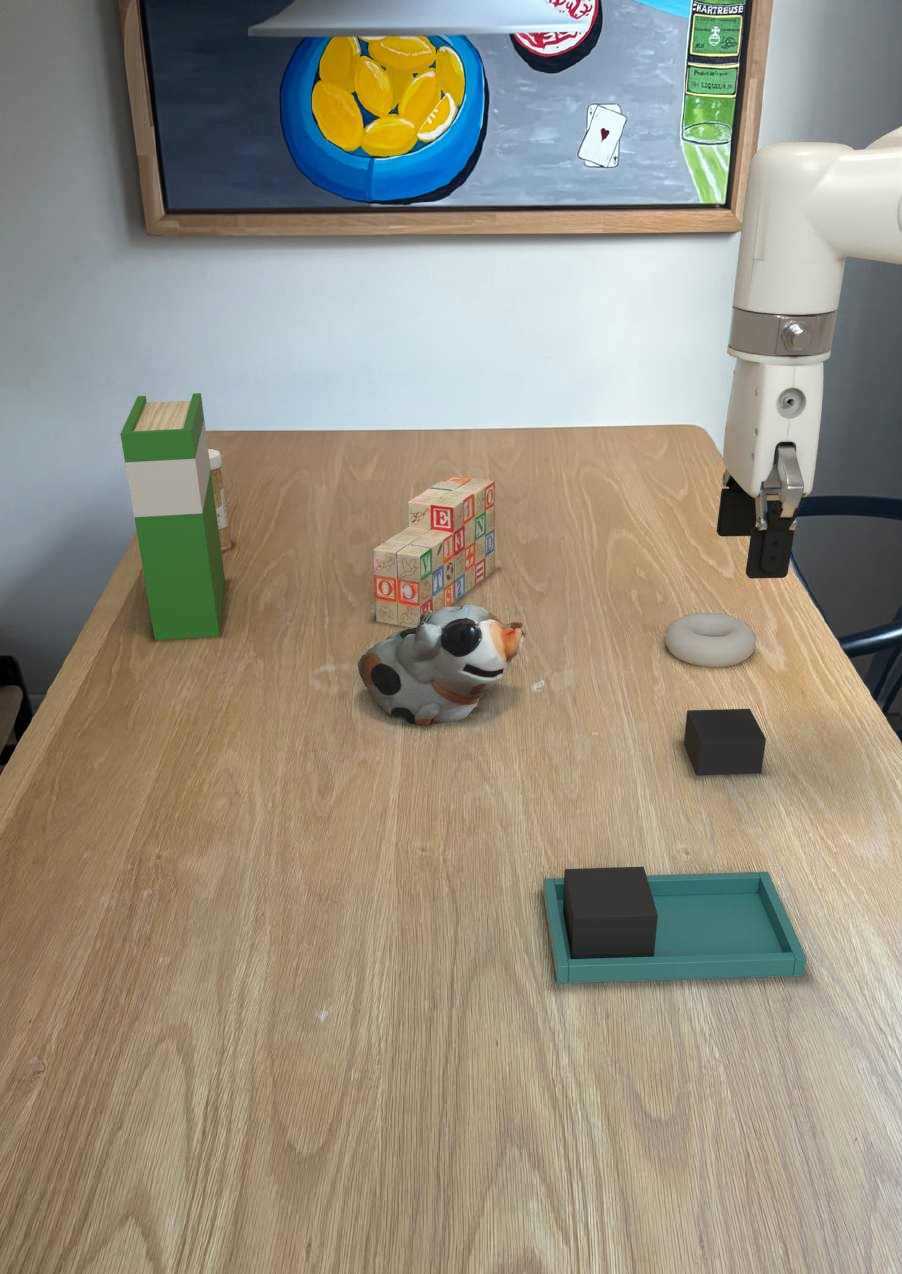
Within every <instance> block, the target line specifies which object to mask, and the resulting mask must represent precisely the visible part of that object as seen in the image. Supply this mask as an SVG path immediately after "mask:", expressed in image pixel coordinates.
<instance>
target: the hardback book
mask: <svg viewBox="0 0 902 1274" xmlns="http://www.w3.org/2000/svg"><path fill="white" fill-rule="evenodd" d="M129 412H130V413H129V414H128V416H127V419H126V421H125V422H124V425H123V427H122V430H121V431H120V439H121V440H120V441H121V448H122V452H123V459H124V464H125V470H126V476H127V482H128V488H129V495H130V499H131V506H132V512H133V518H134V523H135V529H136V530H135V531H136V535H137V541H138V547H139V555H140V559H141V565H142V566H141V567H142V571H143V577H144V582H145V588H146V589H145V590H146V595H147V596H146V597H147V600H148V601H147V602H148V606H149V614H150V619H151V626H152V630H153V637H154V640H155V641H163V640H176V639H177V640H179V639H192V638H206V637H220V631H221V622H222V613H223V603H224V597H225V596H224V595H225V586H226V578H225V577H226V575H225V569H224V562H223V553H222V551H221V545H220V537H219V530H218V522H217V514H216V506H215V499H214V491H213V483H212V475H211V468H210V460H209V452H208V449H209V446H208V439H207V438H208V437H207V431H206V429H207V428H206V421H205V415H204V406H203V398H202V393H201V392H197V393H196V392H194V393H192V396H191V399H190V400H176V401H174V400H172V401H154V402H153V401H151V402H147V396H146V395H137V397H136V398H135V401H134V404H133V406H132V407H131V410H130V411H129Z"/></svg>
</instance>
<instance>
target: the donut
mask: <svg viewBox="0 0 902 1274" xmlns="http://www.w3.org/2000/svg"><path fill="white" fill-rule="evenodd" d="M664 643H665V645H666V648H667V650H668V652H669V653H670V654H671V655H672V656H673V657H674V658H676V659H678V660H679V661H682V662H684V663H686V664H689V665H695V666H698V667H704V668H705V667H706V668H726V667H730V666H735V665H738V664H740V663H743V662H744V661H746V660H747V659H749V657H751V656H752V655H753V653H754V651H755V649H756V645H757V635H756V633H755V630H754V629H753V628H752V627H751V626H750V624H748V623H747V622H745V621H744V620H743V619H740V618H737V617H734V616H732V615H729V614H724V613H718V612H696V613H691V614H690V613H689V614H686V615H683V616H681V617H679V618H677V619H676V620H674V621H673V622H671V623H670V624H669V626H668V627H667V629H666V633H665V637H664Z"/></svg>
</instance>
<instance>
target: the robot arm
mask: <svg viewBox="0 0 902 1274" xmlns="http://www.w3.org/2000/svg"><path fill="white" fill-rule="evenodd" d="M745 187H746V188H745V195H744V204H743V211H742V221H741V229H740V237H739V244H738V245H739V246H738V255H737V262H736V263H737V264H736V273H735V279H734V292H733V297H732V305H731V314H730V323H729V332H728V340H727V349H726V353H727V354H728V355H729V356H730V357H732V358H734V359H735V358H736V360H735V365H734V369H733V376H732V382H731V388H730V393H729V400H728V406H727V412H726V413H727V414H726V420H725V426H724V427H725V430H724V437H723V450H722V451H723V453H722V454H723V455H722V458H723V459H722V460H723V464H724V468H725V469H724V472H723V474H722V481H721V482H722V483H721V484H722V487H723V488H721V491H720V499H719V506H718V516H717V524H716V534H717V535H718V536H719V537H721V538H722V537H725V538H726V537H749V544H748V552H747V559H746V566H745V575H746V576H747V578H748V579H754V580H755V579H784V578H786V577H787V576H788V574H789V567H790V562H791V557H792V556H791V555H792V550H793V544H794V543H793V542H794V538H795V537H794V536H795V530H796V529H797V526H798V515H799V514H800V513H801V508H800V507H801V505H800V502H801V501H802V498H806V497H807V496H809V495H810V494H811V493H812V491H813V489H814V480H815V474H816V467H817V466H816V465H817V457H818V449H819V440H820V431H821V422H822V413H823V411H822V410H823V397H824V361H827V360H829V359H830V357H831V353H832V347H833V340H834V333H835V328H836V321H837V316H838V308H839V305H840V304H839V303H840V298H841V292H842V285H843V279H844V273H845V266H846V260H847V258H855V259H863V260H869V261H870V260H871V261H877V262H884V263H888V264H895V265H902V125H901V126H899V127H897V128H895V129H894V130H892V131H890V132H887V133H886V134H884V135H883V136H881V137H880V138H878V139H876V140H874V141H873V142H872V143H870V144H869V145H868V146H867V147H865V148H864V149H854V148H853V147H852V146H849V145H847V144H843V143H838V142H825V141H824V142H823V141H787V142H786V141H785V142H784V141H783V142H775V143H768V144H767V145H764V146H762V147H760V148H759V149H758V150H757V151H756V152H755V154H754V155H753V157H752V159H751V160H750V164H749V166H748V174H747V178H746V186H745ZM766 486H767V487H766ZM768 486H769V487H768ZM776 486H779V487H776ZM768 501H774V502H773V503H772V504H771V506H770V508H769V509H768Z"/></svg>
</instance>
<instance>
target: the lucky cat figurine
mask: <svg viewBox="0 0 902 1274" xmlns="http://www.w3.org/2000/svg"><path fill="white" fill-rule="evenodd" d="M526 634H527V632H526V631H524V628H523V623H522V622H518V621H513V622H509V623H506V624H504V623H503V622H502V621H501V620H500V619H499V618H498V617H497V616H496V615H494V614H493V613H492V612H490V611H488V610H486V609H485V608H484V607H482V606H479V605H474V604H467V603H466V604H463V605H457V606H449V607H443V608H440V609H437V610H436V611H434V612H433V611H432V610H427V611H425V612H424V613H422V615H421V616H420V622H419V624H418V625H417V627H416V628H407V629H401V630H400V631H397V632H395V633H392V634H390V635H389V636H388V637H386V639H384V640H381V641H379V642H377V643H376V644H374V645H373V647H370V648H369V649H368V650H367V651H366V652H365V654H362V655H361V656H360V657H361V658H360V659H359V660H358V662H357V668H358V673H359V676H360V678H361V680H362V683H363V684H364V687H366V689H367V691H368V692H369V694H370V696H371V697H372V698H373V700H374V701H375V702H376V703H377V704H378V705H379V706H380V707H381V708H382V709H383V710H384V711H385V713H388V715H389V716H392V717H400V716H403V717H404V718H405V719H406V721H407V722H408V723H409V724H410V725H415V726H421V727H424V726H432V725H436V724H444V723H449V722H450V723H451V722H457V721H460V720H464V719H466V718H468V717H469V715H470V714H471V712H472V711H474V709H475V708H477V707H478V705H479V703H480V702H479V701H480V699H481V698H482V697H483V696H484V695H485V694H486V693H488V692H490V691H492V690H493V688H494V687H495V685H496V684H497V683H499V681H500V680H501V679H502V678H503V676H504V674H505V673H506V670H507V667H508V666H509V664H510V663H511V661H512V660H513V659H514V658H515V657H516V656H518V655H519V653H520V652H521V651H522V649H523V642H524V639H525V637H526Z"/></svg>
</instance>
